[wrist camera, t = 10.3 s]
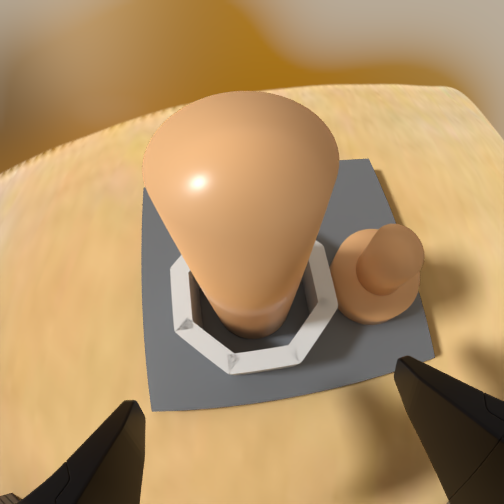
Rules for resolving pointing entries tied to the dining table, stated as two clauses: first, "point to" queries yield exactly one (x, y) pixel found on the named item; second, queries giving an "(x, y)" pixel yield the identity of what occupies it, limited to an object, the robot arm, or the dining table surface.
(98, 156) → the dining table surface
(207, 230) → the tan peg
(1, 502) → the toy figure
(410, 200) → the dining table surface
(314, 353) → the octagonal socket plate
